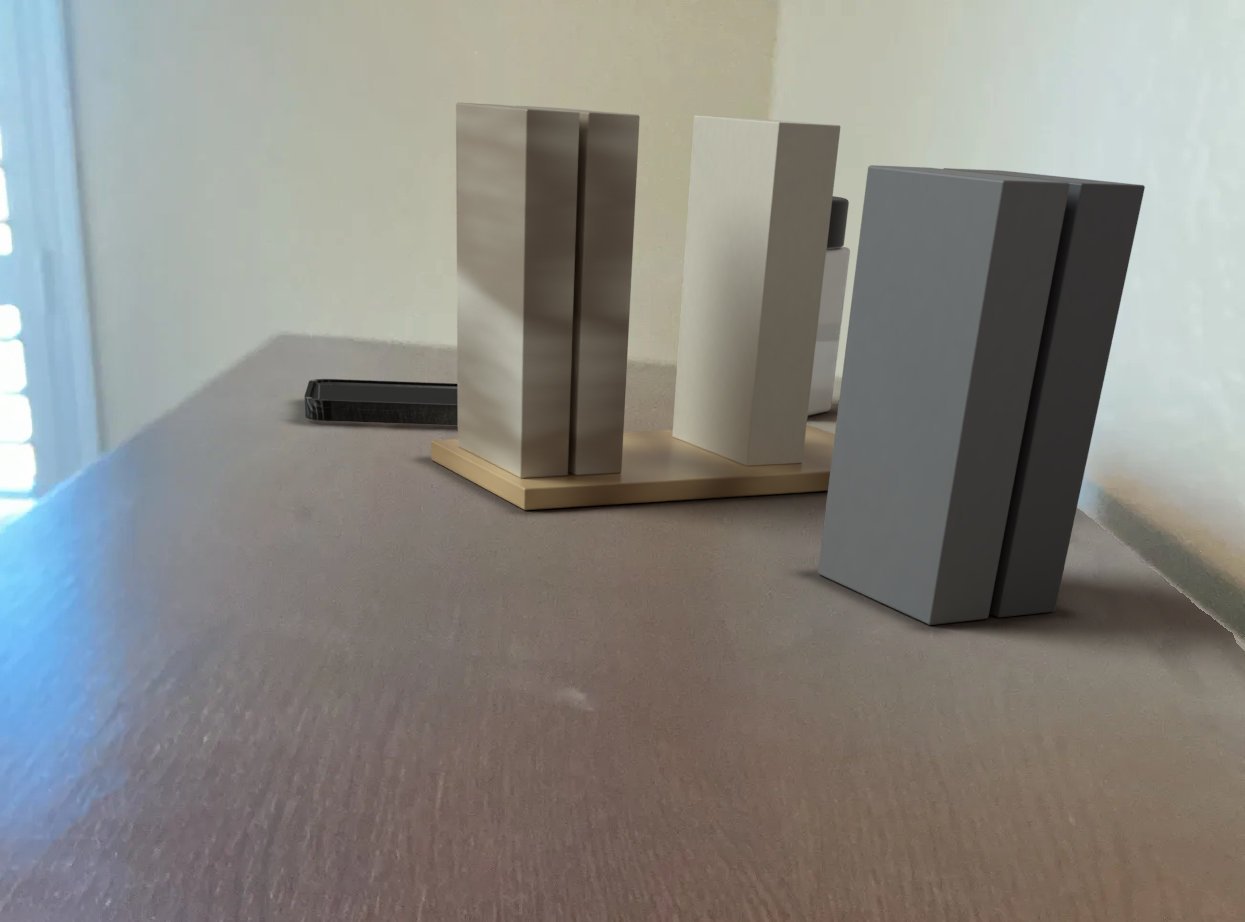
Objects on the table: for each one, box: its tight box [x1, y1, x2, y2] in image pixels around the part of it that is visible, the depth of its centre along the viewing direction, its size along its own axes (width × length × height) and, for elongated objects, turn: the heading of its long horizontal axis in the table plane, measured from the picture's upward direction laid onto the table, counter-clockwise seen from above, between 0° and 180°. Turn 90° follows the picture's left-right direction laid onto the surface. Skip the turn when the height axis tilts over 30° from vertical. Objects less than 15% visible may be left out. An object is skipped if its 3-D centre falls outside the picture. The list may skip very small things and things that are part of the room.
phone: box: [303, 378, 458, 427], centre depth 92 cm, size 8×1×15 cm
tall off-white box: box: [672, 114, 841, 466], centre depth 79 cm, size 4×8×15 cm, turn 27°
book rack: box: [430, 102, 835, 511], centre depth 78 cm, size 24×12×16 cm, turn 117°
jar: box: [808, 195, 851, 417], centre depth 98 cm, size 9×8×12 cm
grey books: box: [817, 164, 1146, 626], centre depth 60 cm, size 6×8×15 cm
